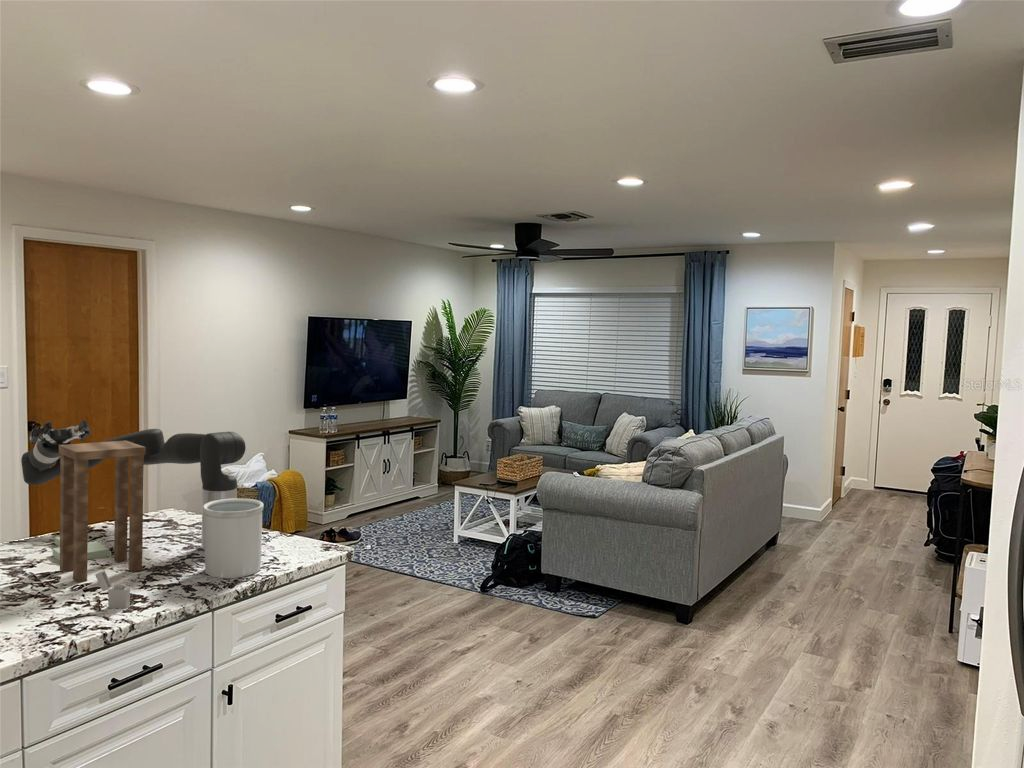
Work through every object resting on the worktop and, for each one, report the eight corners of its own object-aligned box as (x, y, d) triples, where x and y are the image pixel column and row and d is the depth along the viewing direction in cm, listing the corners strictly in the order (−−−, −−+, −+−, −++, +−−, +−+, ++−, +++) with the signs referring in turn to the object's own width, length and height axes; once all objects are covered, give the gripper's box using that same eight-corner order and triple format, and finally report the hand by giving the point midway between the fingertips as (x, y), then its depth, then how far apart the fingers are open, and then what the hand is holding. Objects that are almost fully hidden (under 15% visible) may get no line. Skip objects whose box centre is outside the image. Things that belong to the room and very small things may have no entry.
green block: (82, 539, 221) (82, 532, 221) (108, 556, 207) (108, 549, 207) (39, 546, 213) (39, 539, 212) (63, 564, 199) (63, 556, 199)
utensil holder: (226, 583, 190) (227, 514, 189) (189, 571, 198) (190, 504, 197) (274, 569, 202) (275, 504, 201) (238, 558, 210) (239, 495, 209)
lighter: (130, 606, 172) (130, 571, 172) (126, 609, 170) (126, 573, 170) (99, 604, 172) (99, 569, 172) (94, 607, 170) (94, 572, 170)
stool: (124, 558, 206) (125, 440, 203) (143, 570, 197) (145, 447, 195) (58, 569, 194) (58, 445, 192) (75, 583, 185) (76, 452, 183)
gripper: (20, 436, 217) (36, 412, 207) (76, 432, 227) (93, 410, 217) (24, 460, 215) (40, 438, 205) (80, 456, 225) (97, 434, 215)
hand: (67, 423), depth 211 cm, fingers open, 8 cm apart
